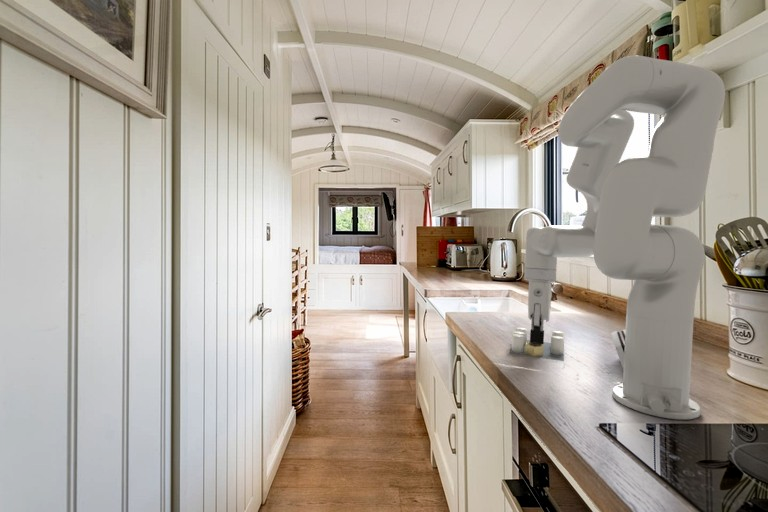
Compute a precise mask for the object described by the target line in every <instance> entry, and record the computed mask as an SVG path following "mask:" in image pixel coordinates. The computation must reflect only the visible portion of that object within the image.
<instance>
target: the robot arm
mask: <svg viewBox="0 0 768 512" xmlns="http://www.w3.org/2000/svg"><path fill="white" fill-rule="evenodd" d="M725 98H726V87H725V84H724V81H723V79H722V78H721V76H720V75H719V74H717V73H716V72H714V71H712V70H710V69H708V68H706V67H702V66H697V65H693V64H689V63H683V62H678V61H673V60H667V59H662V58H661V59H659V58H656V57H655V58H654V57H649V56H645V55H635V54H633V55H627V56H623V57H621V58H619V59H617V60H615V61H613V62H612V64H610V65H608V67H606V68H605V69H604V70H603V71H602V72H601V73H600V74H599V75H598V76H597V77H596V78H595V79H594V80H593V81H592V82H591V83H590V84H589V85H588V86H587V87H586V88H585V89H584V90H583V91H582V92H581V93H580V94H579V95H578V96H577V97H576V98H575V100H574V101H573V102H572V103H571V104H570V106H569V107H568V108H567V109H566V111H565V112H564V114H563V116H562V117H561V120H560V123H559V124H558V125H559V126H558V131H557V132H558V133H557V135H558V139H559V141H560V142H561V144H563V145H565V146H567V147H573V148H577V149H576V152H575V154H574V157H573V160H572V164H571V165H570V168H569V170H568V173H567V174H566V183H567V184H568V186H569V187H571V188H573V189H574V190H576V191H578V192H580V193H581V194H582V195H583V196H584V199H585V201H586V205H587V206H586V214H585V217H584V219H583V221H582V224H581V225H579V226H578V225H548V226H541V227H540V226H539V227H538V226H536V227H530V228H528V229H527V231H526V234H525V235H526V236H525V254H524V255H525V258H524V274H523V275H524V279H523V280H524V281H527V282H528V294H527V295H528V297H527V299H528V300H527V309H528V310H527V311H528V312H527V313H528V315H527V316H528V319H529V320H530V321H531V327H530V334H529V335H530V336H529V340H530V342H536V343H540V344H544V342H545V330H544V327H545V326H544V323H545V321H546V322H549V321H550V319H551V305H552V283H556V282H557V268H558V267H557V265H558V264H557V263H558V262H557V260H558V258H578V259H579V258H580V259H581V258H589V257H591V256H593V259H594V263H595V266H596V267H597V269H598V270H599V271H600V272H601V273H602V274H603V275H604V276H606V277H608V278H611V279H614V280H622V281H634V283H633V284H632V287H631V289H630V292H629V294H628V298H627V302H626V313H625V314H626V316H625V330H626V331H625V341H624V345H625V351H624V370H623V375H622V384H617V385H615V386H614V387H612V391H611V393H612V394H611V395H612V396H613V399H614V400H616V402H618V403H620V404H621V405H623V406H625V407H626V408H627V407H628V408H629V409H632V410H634V411H637V412H640V413H643V414H646V415H651V416H655V417H658V418H664V419H665V418H666V419H671V420H684V421H685V420H686V421H687V420H693V419H697V418H699V417H700V416H701V405H699V404H698V403H697V402H696V401H694V400H693V399H691V398H690V388H691V370H692V369H691V368H692V353H693V335H694V321H695V309H696V308H695V306H696V297H697V290H698V286H699V282H700V278H701V275H702V272H703V268H704V265H705V259H706V252H705V247H704V244H703V242H702V241H701V239H700V238H699V237H698V236H697V234H695V233H694V232H693V231H690V230H689V229H687V228H684V227H681V226H676V225H670V224H669V225H668V224H667V225H666V224H653V223H652V221H653V218H654V217H655V218H657V217H658V218H677V217H684V216H687V215H691V214H692V213H694V212H695V211H697V210H698V209H699V208H700V206H701V205H702V203H703V201H704V198H705V194H706V190H707V185H708V179H709V175H710V168H711V163H712V157H713V152H714V148H715V147H714V146H715V138H716V134H717V130H718V129H717V128H718V125H719V121H720V119H721V116H722V115H721V114H722V111H723V109H724V104H725ZM630 112H634V113H641V114H643V113H644V114H651V115H658V116H663V117H662V118H661V119H660V121H659V122H658V123H657V124H656V126H655V128H654V130H653V133H652V135H651V138H650V140H649V142H650V143H649V150H648V153H647V154H648V155H647V156H635V157H630V158H629V157H628V158H626V159H623V160H621V159H622V156H623V154H624V152H625V150H626V147H627V145H628V143H629V141H630V138H631V136H632V133H633V130H634V128H635V119H634V117H633V115H632V114H631V113H630Z"/></svg>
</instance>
